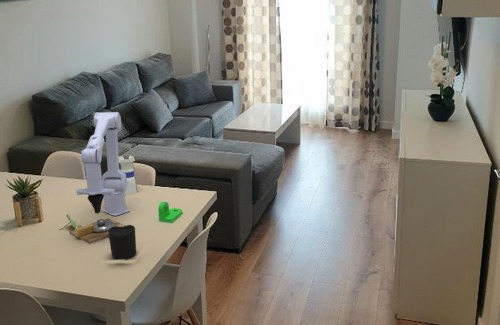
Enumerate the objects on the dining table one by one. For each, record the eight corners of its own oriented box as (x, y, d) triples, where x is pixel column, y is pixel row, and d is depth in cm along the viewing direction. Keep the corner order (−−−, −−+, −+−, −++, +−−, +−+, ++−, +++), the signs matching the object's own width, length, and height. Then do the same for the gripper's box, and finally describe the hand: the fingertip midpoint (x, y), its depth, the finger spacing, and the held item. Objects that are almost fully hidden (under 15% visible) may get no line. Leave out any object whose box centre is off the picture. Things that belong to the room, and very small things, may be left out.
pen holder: (123, 247, 206) (121, 222, 204) (142, 252, 202) (140, 227, 199) (105, 257, 199) (102, 231, 196) (124, 262, 194) (122, 236, 191)
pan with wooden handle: (105, 220, 229) (105, 214, 228) (119, 226, 222) (118, 220, 221) (70, 232, 218) (69, 225, 217) (83, 239, 211) (82, 232, 210)
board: (69, 233, 220) (68, 224, 219) (108, 220, 233) (107, 211, 232) (90, 243, 210) (89, 234, 209) (129, 229, 223) (128, 220, 222)
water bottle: (119, 194, 265) (114, 144, 258) (137, 192, 267) (133, 142, 260) (120, 200, 257) (115, 148, 250) (138, 198, 259) (134, 146, 252)
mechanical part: (172, 223, 228) (170, 205, 226) (159, 222, 230) (157, 204, 228) (184, 213, 239) (183, 196, 237) (172, 212, 241) (171, 194, 239)
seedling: (67, 239, 227) (80, 229, 228) (60, 236, 219) (74, 226, 220) (58, 225, 229) (71, 215, 230) (50, 222, 221) (64, 212, 222)
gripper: (71, 182, 207) (75, 215, 211) (108, 182, 206) (112, 216, 209) (79, 176, 214) (83, 209, 218) (115, 176, 212) (118, 209, 216)
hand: (97, 212), depth 214 cm, fingers closed
